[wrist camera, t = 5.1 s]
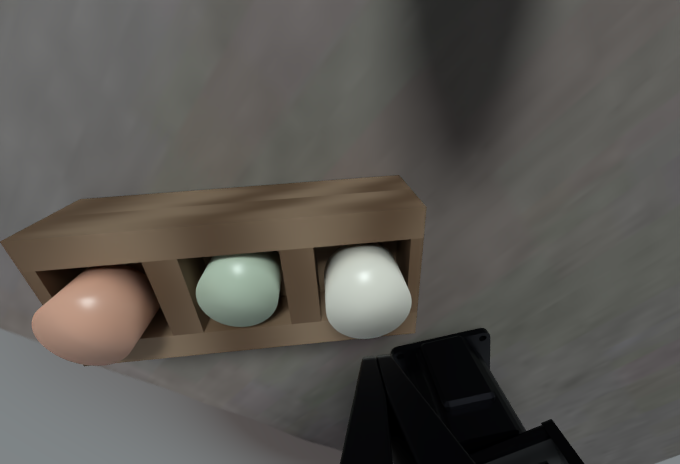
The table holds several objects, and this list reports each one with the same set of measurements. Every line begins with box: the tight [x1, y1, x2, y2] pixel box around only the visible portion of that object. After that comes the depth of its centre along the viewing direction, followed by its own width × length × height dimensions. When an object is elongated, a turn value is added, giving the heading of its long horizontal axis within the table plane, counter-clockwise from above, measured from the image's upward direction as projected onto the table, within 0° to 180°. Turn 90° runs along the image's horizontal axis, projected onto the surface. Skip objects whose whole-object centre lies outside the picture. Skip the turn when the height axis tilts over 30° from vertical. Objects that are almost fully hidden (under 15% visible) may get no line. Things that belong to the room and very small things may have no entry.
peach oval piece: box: [32, 264, 160, 366], centre depth 12 cm, size 3×3×2 cm
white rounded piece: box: [324, 242, 412, 339], centre depth 12 cm, size 3×3×2 cm
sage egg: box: [196, 251, 283, 327], centre depth 13 cm, size 3×3×2 cm
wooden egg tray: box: [0, 175, 426, 366], centre depth 14 cm, size 15×6×4 cm, turn 93°
